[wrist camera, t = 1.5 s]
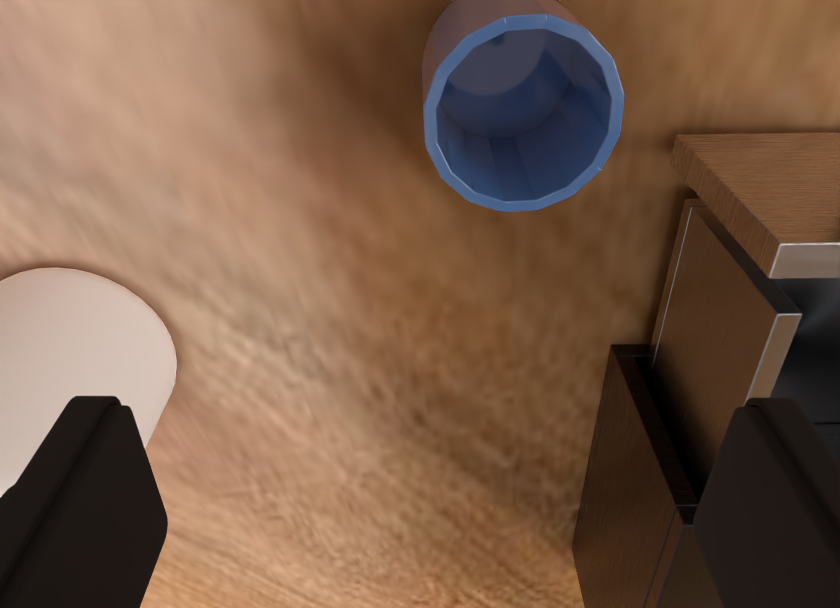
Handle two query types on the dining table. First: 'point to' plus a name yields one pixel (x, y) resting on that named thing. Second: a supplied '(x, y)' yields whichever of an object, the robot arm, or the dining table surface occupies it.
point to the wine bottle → (74, 356)
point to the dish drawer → (749, 289)
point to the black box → (637, 504)
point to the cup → (517, 102)
